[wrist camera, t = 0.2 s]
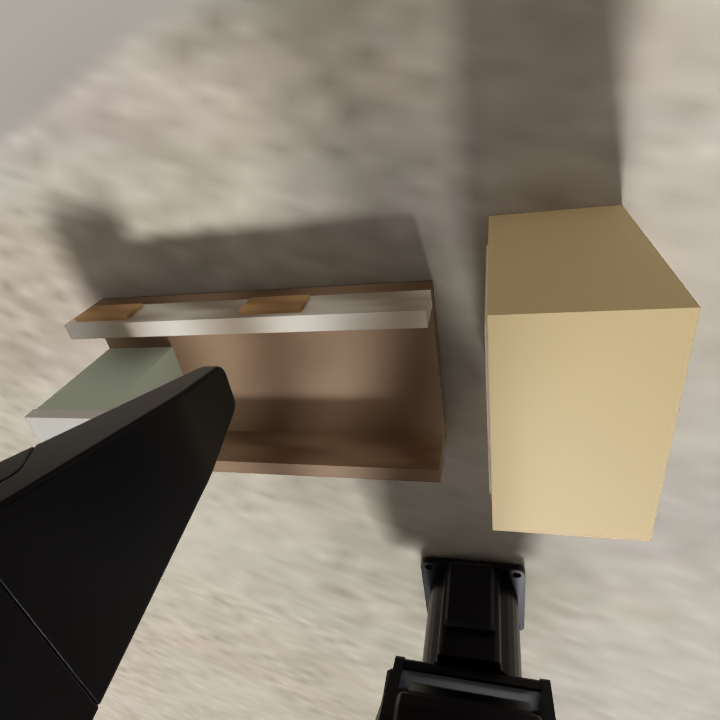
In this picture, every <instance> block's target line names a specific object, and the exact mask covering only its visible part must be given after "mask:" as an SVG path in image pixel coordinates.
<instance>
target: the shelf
mask: <svg viewBox="0 0 720 720" xmlns="http://www.w3.org/2000/svg"><path fill="white" fill-rule="evenodd" d="M64 326H65V328H66V329H67V331H68V333H69V335H70V337H71V339H89V338H105V339H106V341H107V343H108V345H109V348H110V349H111V348H151V347H173V350H174V352H175V355H176V357H177V360H178V362H179V365H180V367H181V370H182V373H183V375H185V374H187V373H189V372H191V371H194V370H196V369H198V368H200V367H204V366H219V367H221V368H223V369H224V371H225V373H226V375H227V378H228V381H229V384H230V387H231V390H232V393H233V396H234V399H235V411H234V414H233V417H232V420H231V422H230V425H229V428H228V431H227V433H226V436H225V439H224V442H223V445H222V447H221V450H220V453H219V456H218V459H217V461H216V464H215V466H214V469H213V471H215V472H236V473H257V474H278V475H299V476H319V477H340V478H361V479H382V480H402V481H423V482H441V474H442V465H443V456H444V447H445V438H446V431H445V419H444V407H443V395H442V384H441V372H440V360H439V348H438V336H437V324H436V312H435V300H434V288H433V281H415V282H398V283H380V284H362V285H344V286H326V287H308V288H291V289H273V290H255V291H237V292H219V293H202V294H184V295H166V296H148V297H130V298H112V299H102V300H100V301H99V302H97V303H96V304H94V305H93V306H92V307H90V308H89V309H87V310H86V311H84V312H83V313H81V314H80V315H78V316H77V317H75V318H74V319H72V320H71V321H70V322H68V323H67V324H65V325H64Z"/></svg>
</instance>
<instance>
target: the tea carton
mask: <svg viewBox="0 0 720 720" xmlns="http://www.w3.org/2000/svg"><path fill="white" fill-rule="evenodd" d="M700 308H701V307H700V306H699V305H698V303H697V302H696V301H695V300H694V298H693V297H692V296H691V294H690V293H689V292H688V290H687V289H686V288H685V286H684V285H683V284H682V283H681V281H680V280H679V279H678V277H677V276H676V275H675V273H674V272H673V271H672V269H671V268H670V267H669V266H668V264H667V263H666V262H665V260H664V259H663V258H662V256H661V255H660V254H659V253H658V251H657V250H656V249H655V247H654V246H653V245H652V243H651V242H650V241H649V239H648V238H647V237H646V236H645V234H644V233H643V232H642V230H641V229H640V228H639V226H638V225H637V224H636V222H635V221H634V220H633V219H632V217H631V216H630V215H629V213H628V212H627V211H626V209H625V208H624V207H623V205H622V204H621V205H610V206H598V207H587V208H575V209H564V210H552V211H541V212H529V213H518V214H506V215H495V216H489V222H488V245H486V283H485V327H484V328H485V362H486V397H487V432H488V466H489V494H492V525H493V530H498V531H512V532H527V533H541V534H555V535H569V536H583V537H598V538H612V539H626V540H640V541H651V537H652V532H653V527H654V523H655V518H656V513H657V509H658V504H659V499H660V495H661V490H662V485H663V481H664V476H665V471H666V467H667V462H668V457H669V453H670V448H671V443H672V439H673V434H674V429H675V425H676V420H677V415H678V411H679V406H680V401H681V397H682V392H683V387H684V383H685V378H686V373H687V369H688V364H689V359H690V354H691V350H692V345H693V340H694V336H695V331H696V326H697V322H698V317H699V312H700Z"/></svg>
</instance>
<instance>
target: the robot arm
mask: <svg viewBox="0 0 720 720" xmlns="http://www.w3.org/2000/svg"><path fill="white" fill-rule="evenodd" d="M234 411H235V399H234V396H233V393H232V390H231V387H230V384H229V381H228V378H227V375H226V373H225V371H224V369H223V368H221V367H219V366H204V367H200V368H198V369H196V370H194V371H191V372H189V373H187V374H185V375H183V376H181V377H179V378H177V379H175V380H172V381H170V382H168V383H166V384H164V385H162V386H160V387H158V388H156V389H153V390H151V391H149V392H147V393H145V394H143V395H141V396H139V397H137V398H134V399H132V400H130V401H128V402H126V403H124V404H122V405H120V406H118V407H115V408H113V409H111V410H109V411H107V412H105V413H103V414H101V415H99V416H96V417H94V418H92V419H90V420H88V421H86V422H84V423H82V424H80V425H78V426H75V427H73V428H71V429H69V430H67V431H65V432H63V433H61V434H59V435H56V436H54V437H52V438H50V439H48V440H46V441H44V442H42V443H40V444H37V445H36V446H35V448H34V447H31V448H29V449H27V450H25V451H22V452H20V453H18V454H16V455H14V456H12V457H10V458H8V459H5V460H3V461H1V462H0V720H93V718H94V716H95V714H96V712H97V710H98V704H100V703H101V701H102V699H103V697H104V694H105V692H106V690H107V688H108V686H109V684H110V682H111V680H112V678H113V676H114V674H115V672H116V670H117V668H118V666H119V664H120V662H121V660H122V657H123V655H124V653H125V651H126V649H127V647H128V645H129V643H130V641H131V639H132V637H133V635H134V633H135V631H136V629H137V627H138V625H139V623H140V620H141V618H142V616H143V614H144V612H145V610H146V608H147V606H148V604H149V602H150V600H151V598H152V596H153V594H154V592H155V590H156V588H157V586H158V583H159V581H160V579H161V577H162V575H163V573H164V571H165V569H166V567H167V565H168V563H169V561H170V559H171V557H172V555H173V553H174V551H175V549H176V546H177V544H178V542H179V540H180V538H181V536H182V534H183V532H184V530H185V528H186V526H187V524H188V522H189V520H190V518H191V516H192V514H193V512H194V509H195V507H196V505H197V503H198V501H199V499H200V497H201V495H202V493H203V491H204V489H205V487H206V485H207V483H208V480H209V478H210V476H211V474H212V471H213V469H214V466H215V464H216V461H217V459H218V456H219V453H220V450H221V447H222V445H223V442H224V439H225V436H226V433H227V431H228V428H229V425H230V422H231V420H232V417H233V414H234ZM421 570H422V577H423V584H424V591H425V599H426V606H427V613H428V616H427V625H426V634H425V644H424V653H423V662H422V661H415V660H409V659H405V657H401V656H396V658H395V662H394V666H393V669H390V670H388V671H387V676H386V682H385V688H384V693H383V698H382V702H381V705H380V708H379V711H378V714H377V717H376V720H556V718H555V711H554V704H553V697H552V690H551V683H550V680H546V679H540V680H534V679H528V678H522V673H521V652H520V630H522V629H524V608H525V569H524V568H523V567H522V566H520V565H514V564H502V563H491V562H479V561H468V560H457V559H445V558H434V557H425V558H423V559H422V563H421Z"/></svg>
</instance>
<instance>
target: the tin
mask: <svg viewBox="0 0 720 720" xmlns="http://www.w3.org/2000/svg"><path fill="white" fill-rule="evenodd" d="M181 376H183V373H182V370H181V367H180V365H179V362H178V360H177V357H176V355H175V352H174V350H173V347H151V348H111V349H109V350H108V351H106V352H105V353H104V354H103V355H101V356H100V357H99V358H98V359H97V360H95V361H94V362H93V363H92V364H91V365H89V366H88V367H87V368H86V369H85V370H83V371H82V372H81V373H80V374H78V375H77V376H76V377H75V378H74V379H72V380H71V381H70V382H69V383H68V384H66V385H65V386H64V387H63V388H62V389H60V390H59V391H58V392H57V393H55V394H54V395H53V396H52V397H51V398H49V399H48V400H47V401H46V402H45V403H43V404H42V405H41V406H40V407H38V408H37V409H34V410H32V411H31V412H30V413H29V414H28V415H26V416H25V417H24V418H25V420H26V422H27V423H28V425H29V426H30V428H31V430H32V431H33V433H34V434H35V436H36V438H37V439H38V441H39V443H42V442H44V441H46V440H48V439H50V438H52V437H54V436H56V435H59V434H61V433H63V432H65V431H67V430H69V429H71V428H73V427H75V426H78V425H80V424H82V423H84V422H86V421H88V420H90V419H92V418H94V417H96V416H99V415H101V414H103V413H105V412H107V411H109V410H111V409H113V408H115V407H118V406H120V405H122V404H124V403H126V402H128V401H130V400H132V399H134V398H137V397H139V396H141V395H143V394H145V393H147V392H149V391H151V390H153V389H156V388H158V387H160V386H162V385H164V384H166V383H168V382H170V381H172V380H175V379H177V378H179V377H181Z"/></svg>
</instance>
